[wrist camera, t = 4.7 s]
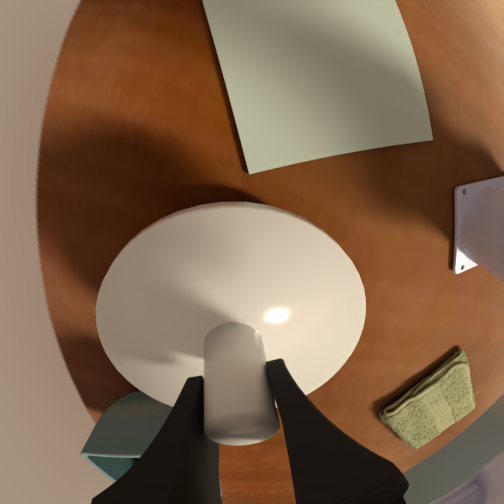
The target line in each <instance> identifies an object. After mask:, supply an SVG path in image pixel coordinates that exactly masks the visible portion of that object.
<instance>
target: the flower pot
mask: <svg viewBox="0 0 504 504" xmlns="http://www.w3.org/2000/svg"><path fill="white" fill-rule="evenodd" d="M172 408H173V407H172V406H170V405H167V404H165V403H162V402H160V401H158V400H156V399H154V398H152V397H150V396H148V395H147V394H145V393H143V392H142V391H137V392H132V393H130V394H128V395H126V396H124V397H122V398H120V399H119V400H117V401H116V402H114V403H113V404H112V405H111V406H110V407H109V408H107V410H106V411H105V412H104V413H103V414H102V416H101V417H100V419H99V420H98V422H97V424H96V425H95V427H94V429H93V431H92V433H91V435H90V436H89V438H88V440H87V442H86V444H85V446H84V448H83V449H82V451H81V455H82V456H83V457H84V458H85V459H86V460H87V461H88V462H89V463H91V464H92V465H93V466H94V467H95V468H97V469H98V470H99V471H101V472H102V473H103V474H105V475H106V476H107V477H108V478H110V479H111V480H112V481H113V482H116V481H117V480H118V479H119V478H120V477H121V476H122V475H123V474H125V473H126V472H127V471H128V470H129V469H130V468H131V467H132V466H133V464H134V463H135V462H136V461H137V460H138V459H139V458H140V457H141V455H142V454H143V453H144V452H145V450H146V449H147V448H148V447H149V445H150V444H151V442H152V441H153V440H154V438H155V437H156V435H157V434H158V432H159V430H160V429H161V427H162V426H163V424H164V422H165V421H166V419H167V417H168V415H169V413H170V412H171V410H172ZM219 483H220V480H219ZM220 492H221V486H220ZM221 496H222V492H221Z"/></svg>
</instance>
